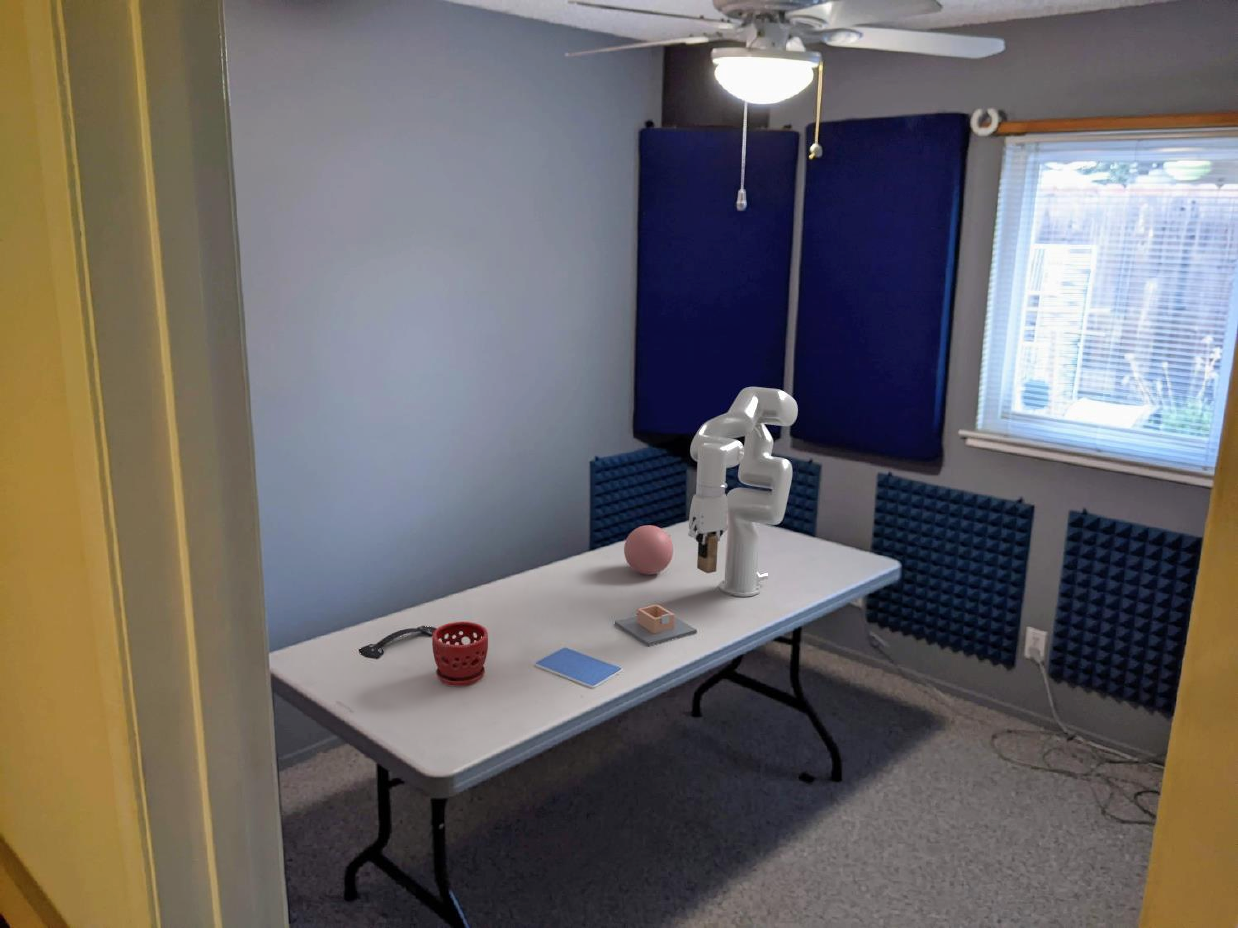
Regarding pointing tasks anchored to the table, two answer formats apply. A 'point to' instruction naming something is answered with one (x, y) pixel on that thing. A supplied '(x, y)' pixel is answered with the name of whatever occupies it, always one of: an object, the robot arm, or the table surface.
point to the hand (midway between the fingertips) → (707, 555)
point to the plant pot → (460, 653)
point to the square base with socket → (655, 625)
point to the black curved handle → (376, 649)
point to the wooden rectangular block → (709, 555)
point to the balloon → (648, 549)
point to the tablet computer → (578, 667)
